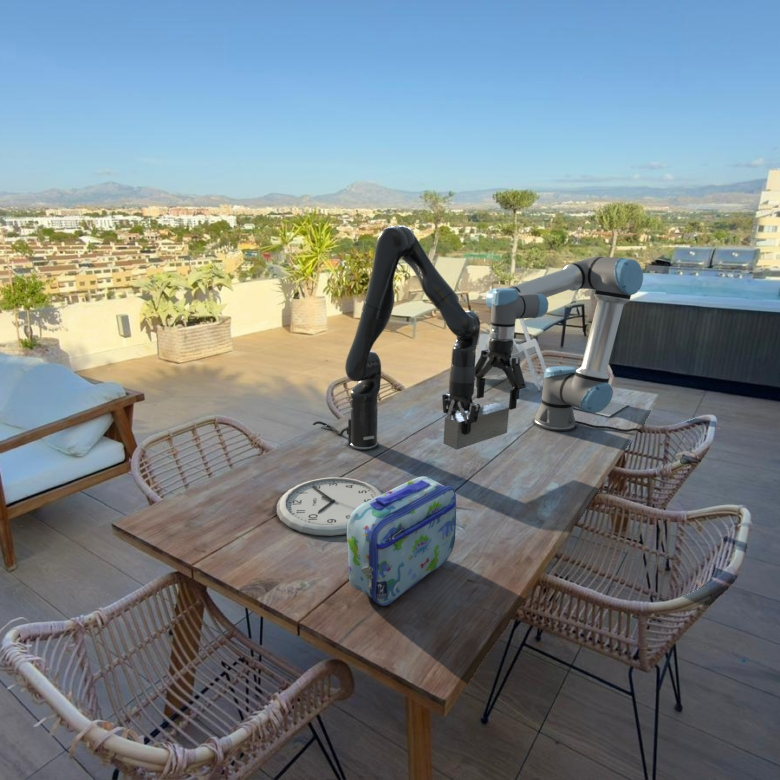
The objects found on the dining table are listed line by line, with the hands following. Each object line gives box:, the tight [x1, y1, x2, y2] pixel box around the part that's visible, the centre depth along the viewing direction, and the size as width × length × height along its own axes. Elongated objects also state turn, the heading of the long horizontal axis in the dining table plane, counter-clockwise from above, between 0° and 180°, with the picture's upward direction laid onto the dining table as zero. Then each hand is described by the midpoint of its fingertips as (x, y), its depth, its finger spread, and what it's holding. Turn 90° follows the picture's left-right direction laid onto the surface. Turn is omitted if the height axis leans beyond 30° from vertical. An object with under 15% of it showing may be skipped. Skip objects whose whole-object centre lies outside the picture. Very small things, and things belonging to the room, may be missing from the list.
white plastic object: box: [475, 318, 548, 392], centre depth 258 cm, size 37×45×31 cm
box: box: [443, 402, 510, 451], centre depth 166 cm, size 23×6×9 cm, turn 128°
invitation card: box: [573, 400, 629, 418], centre depth 226 cm, size 21×1×15 cm
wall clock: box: [276, 476, 384, 537], centre depth 142 cm, size 30×2×30 cm
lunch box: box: [346, 475, 457, 607], centre depth 111 cm, size 26×11×21 cm, turn 134°
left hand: (458, 430), depth 162 cm, fingers closed on box, 6 cm apart
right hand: (495, 403), depth 170 cm, fingers open, 13 cm apart
